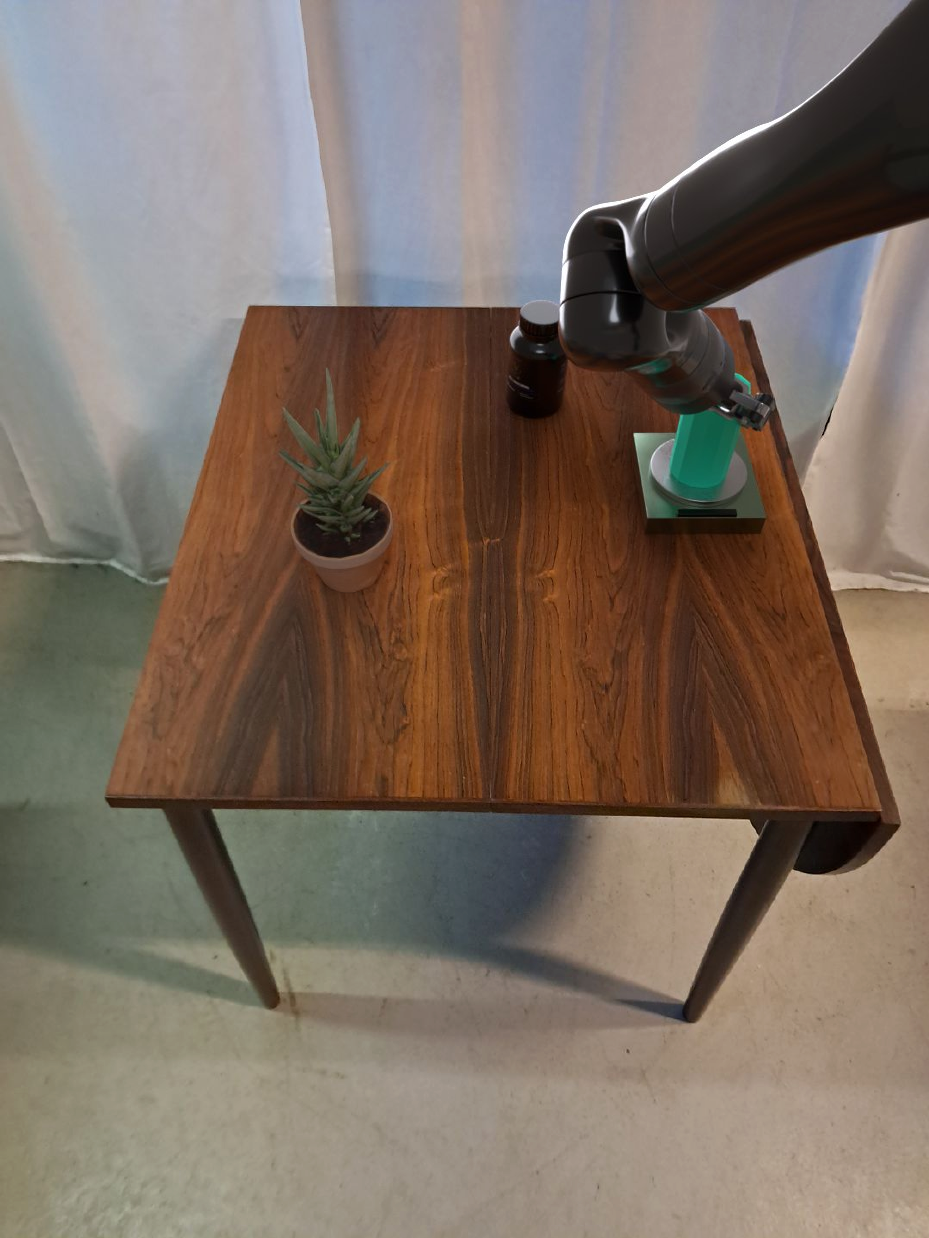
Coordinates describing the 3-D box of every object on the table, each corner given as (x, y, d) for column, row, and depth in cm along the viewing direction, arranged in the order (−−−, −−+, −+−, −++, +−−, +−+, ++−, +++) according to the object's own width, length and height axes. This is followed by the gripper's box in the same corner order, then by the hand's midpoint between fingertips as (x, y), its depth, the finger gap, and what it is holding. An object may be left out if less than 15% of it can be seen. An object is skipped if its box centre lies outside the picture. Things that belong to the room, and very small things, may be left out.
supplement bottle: (502, 417, 103) (505, 327, 94) (510, 381, 107) (513, 291, 98) (561, 423, 103) (570, 333, 93) (566, 386, 107) (575, 296, 97)
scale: (760, 534, 92) (768, 512, 89) (644, 534, 92) (648, 512, 89) (737, 449, 100) (744, 427, 97) (630, 449, 100) (634, 427, 97)
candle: (662, 479, 92) (684, 384, 83) (676, 443, 95) (699, 348, 86) (720, 494, 91) (749, 399, 81) (732, 457, 94) (761, 362, 85)
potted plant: (321, 621, 85) (275, 417, 66) (289, 555, 90) (238, 347, 71) (417, 586, 88) (400, 380, 68) (380, 524, 93) (356, 315, 73)
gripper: (781, 350, 70) (809, 400, 84) (629, 284, 75) (680, 341, 90) (730, 437, 71) (766, 470, 86) (585, 365, 77) (642, 408, 92)
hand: (722, 404), depth 88 cm, fingers closed on candle, 5 cm apart
